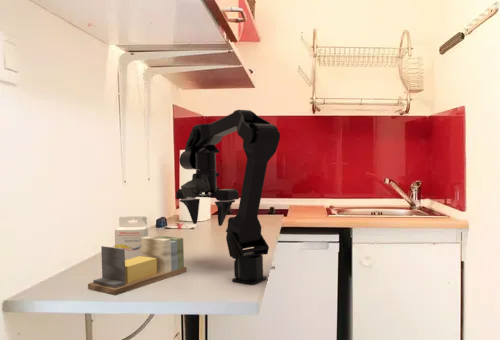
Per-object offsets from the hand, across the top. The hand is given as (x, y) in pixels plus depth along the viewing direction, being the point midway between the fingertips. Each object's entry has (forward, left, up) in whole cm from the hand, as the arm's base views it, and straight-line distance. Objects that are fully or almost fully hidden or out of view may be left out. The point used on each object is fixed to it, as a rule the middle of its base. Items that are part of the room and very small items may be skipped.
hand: (207, 224), depth 125 cm
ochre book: (+7, +21, -11) cm, 25 cm away
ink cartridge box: (+18, +12, -12) cm, 25 cm away
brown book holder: (+7, +19, -12) cm, 24 cm away
